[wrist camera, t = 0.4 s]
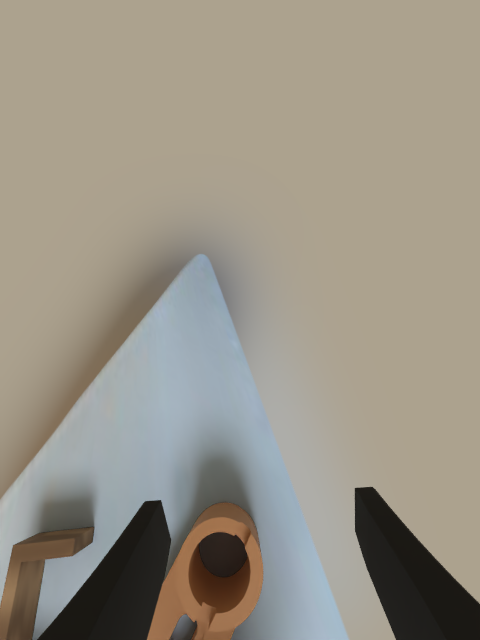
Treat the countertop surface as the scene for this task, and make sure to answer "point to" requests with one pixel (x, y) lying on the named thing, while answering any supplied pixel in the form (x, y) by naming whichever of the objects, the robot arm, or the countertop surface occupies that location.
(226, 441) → the countertop surface
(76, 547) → the jig
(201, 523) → the bracket
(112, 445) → the countertop surface
